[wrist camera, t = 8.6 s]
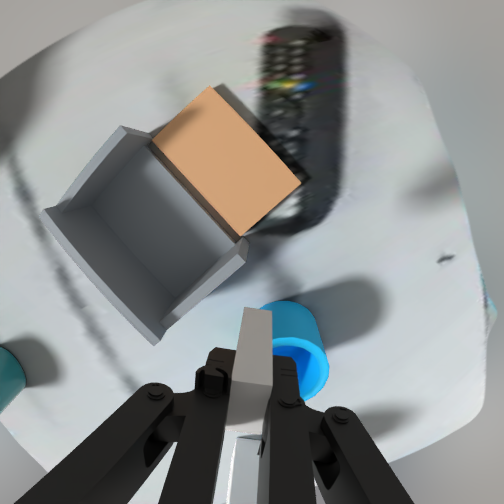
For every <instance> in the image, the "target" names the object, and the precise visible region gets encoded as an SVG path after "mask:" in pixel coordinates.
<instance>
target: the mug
mask: <svg viewBox="0 0 504 504" xmlns="http://www.w3.org/2000/svg"><path fill="white" fill-rule="evenodd" d="M260 309H262V310H269V311H272V355H279V356H287V357H292V359H293V360H294V361H295V363H296V366H297V374H298V382H299V391H300V397H301V398H302V399H303V400H304V402H305V401H306V400H308V399H310V398H312V397H313V396H315V395H316V394H317V393H318V392H319V391H320V390H321V389H322V388H323V387H324V385H325V383H326V381H327V379H328V376H329V363H328V360H327V357H326V353H325V350H324V347H323V343H322V340H321V337H320V334H319V330H318V327H317V324H316V321H315V318H314V316H313V315H312V314H311V312H310V311H309V310H308V309H307V308H305V307H304V306H302V305H300V304H299V303H295V302H291V301H275V302H272V303H269V304H266V305H264V306H263V307H261V308H260Z"/></svg>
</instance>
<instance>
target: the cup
mask: <svg viewBox="0 0 504 504" xmlns="http://www.w3.org/2000/svg"><path fill="white" fill-rule="evenodd" d="M25 385H26V378H25V374H24V371H23V369H22V367H21V365H20V364H19V362H18V361H17V360H16V358H15V357H14V356H13V355H12V354H11V353H10V352H9V351H7V350H6V349H4V348H2V347H0V414H1V413H2V412H3V411H4V410H5V409H6V407H7V406H8V405H9V404H10V403H11V402H12V401H13V400H14V399H15V398H16V397H17V396H18V394H19V393H20V392H21V391H22V390H23V389H24V388H25Z"/></svg>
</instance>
